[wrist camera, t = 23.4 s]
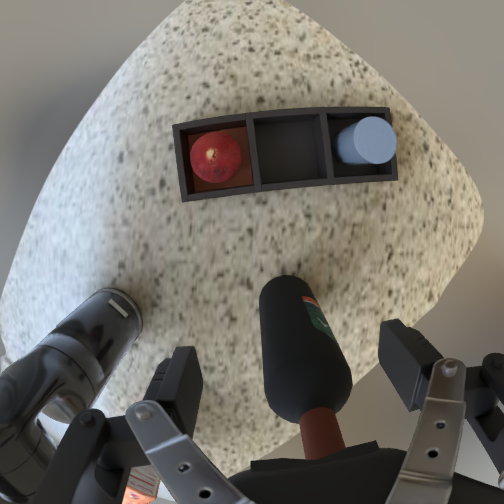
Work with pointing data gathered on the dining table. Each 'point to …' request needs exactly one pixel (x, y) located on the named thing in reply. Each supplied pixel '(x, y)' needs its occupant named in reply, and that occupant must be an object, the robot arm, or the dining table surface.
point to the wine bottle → (303, 364)
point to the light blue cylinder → (364, 142)
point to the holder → (279, 151)
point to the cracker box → (141, 485)
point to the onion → (216, 157)
